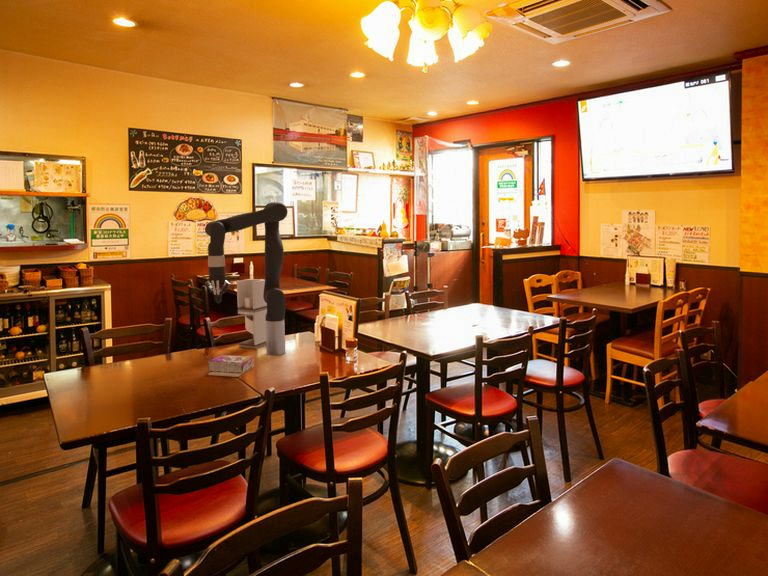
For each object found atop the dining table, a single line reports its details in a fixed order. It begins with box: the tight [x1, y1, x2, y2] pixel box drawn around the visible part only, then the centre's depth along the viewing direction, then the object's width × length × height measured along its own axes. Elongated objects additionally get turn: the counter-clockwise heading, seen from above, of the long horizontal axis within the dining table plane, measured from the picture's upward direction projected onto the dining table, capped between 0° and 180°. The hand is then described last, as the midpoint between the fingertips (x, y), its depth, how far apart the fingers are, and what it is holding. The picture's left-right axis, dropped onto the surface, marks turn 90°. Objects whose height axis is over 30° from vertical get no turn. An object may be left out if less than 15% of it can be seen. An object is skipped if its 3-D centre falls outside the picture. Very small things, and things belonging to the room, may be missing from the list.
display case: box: [236, 278, 267, 350], centre depth 282 cm, size 11×11×35 cm
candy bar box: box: [208, 354, 254, 374], centre depth 239 cm, size 11×5×16 cm
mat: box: [208, 364, 255, 378], centre depth 239 cm, size 16×14×1 cm
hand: (218, 302), depth 247 cm, fingers closed
